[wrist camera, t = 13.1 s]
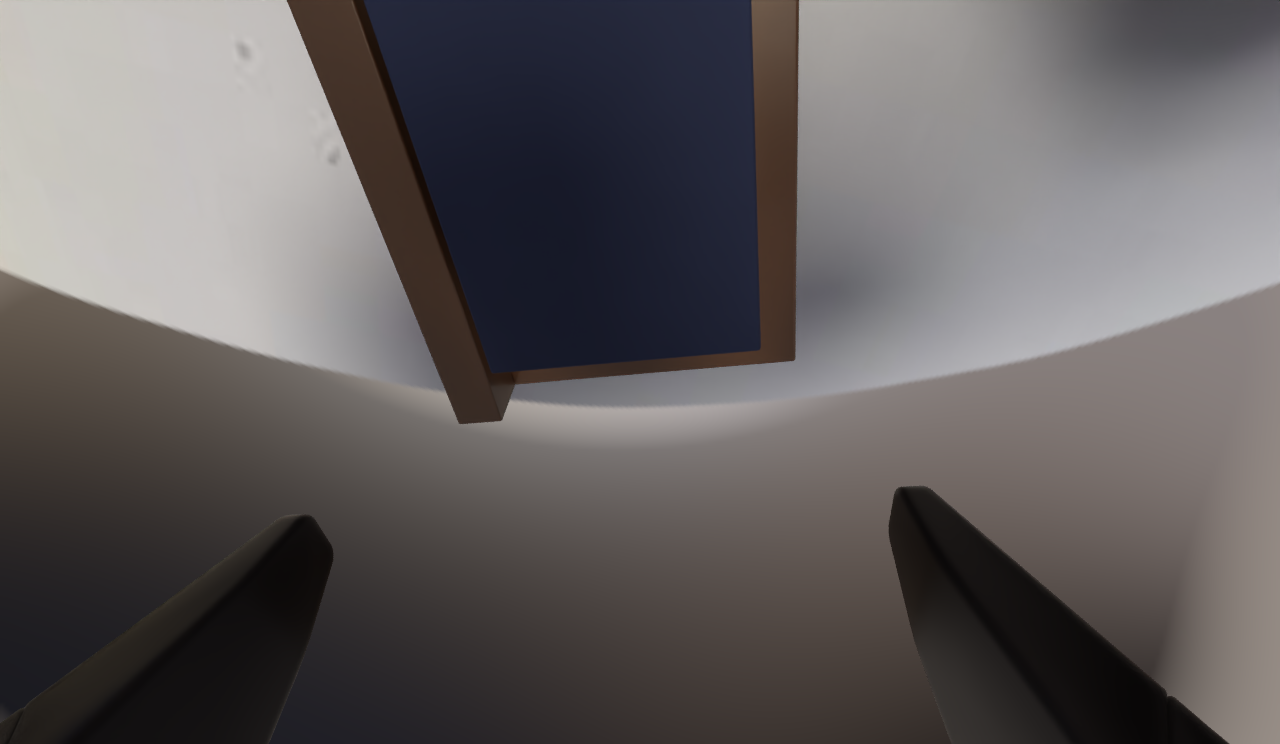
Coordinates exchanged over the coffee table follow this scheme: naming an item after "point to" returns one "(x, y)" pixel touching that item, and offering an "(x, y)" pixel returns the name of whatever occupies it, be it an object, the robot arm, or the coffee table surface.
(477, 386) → the sharpening stone holder
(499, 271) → the dark blue rectangular block
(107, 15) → the coffee table surface
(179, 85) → the coffee table surface
